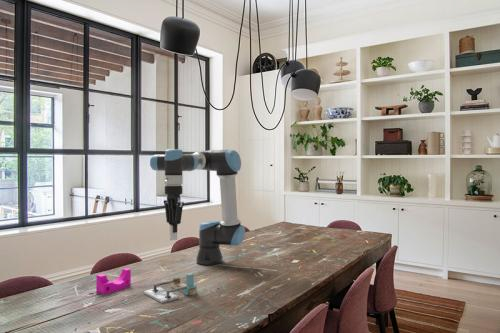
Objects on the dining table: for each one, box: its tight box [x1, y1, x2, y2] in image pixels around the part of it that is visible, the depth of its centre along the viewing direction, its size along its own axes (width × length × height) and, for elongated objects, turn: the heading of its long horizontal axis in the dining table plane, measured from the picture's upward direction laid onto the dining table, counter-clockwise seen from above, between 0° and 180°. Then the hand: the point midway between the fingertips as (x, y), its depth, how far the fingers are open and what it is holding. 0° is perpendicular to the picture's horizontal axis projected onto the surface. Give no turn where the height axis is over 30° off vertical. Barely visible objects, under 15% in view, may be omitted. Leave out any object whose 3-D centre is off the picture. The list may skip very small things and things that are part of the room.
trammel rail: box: [153, 277, 197, 296], centre depth 169 cm, size 13×16×4 cm
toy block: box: [95, 267, 132, 295], centre depth 174 cm, size 15×6×8 cm, turn 140°
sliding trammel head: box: [166, 272, 198, 297], centre depth 165 cm, size 14×3×8 cm, turn 132°
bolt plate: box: [143, 286, 180, 304], centre depth 165 cm, size 8×16×1 cm, turn 42°
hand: (173, 239), depth 165 cm, fingers closed
